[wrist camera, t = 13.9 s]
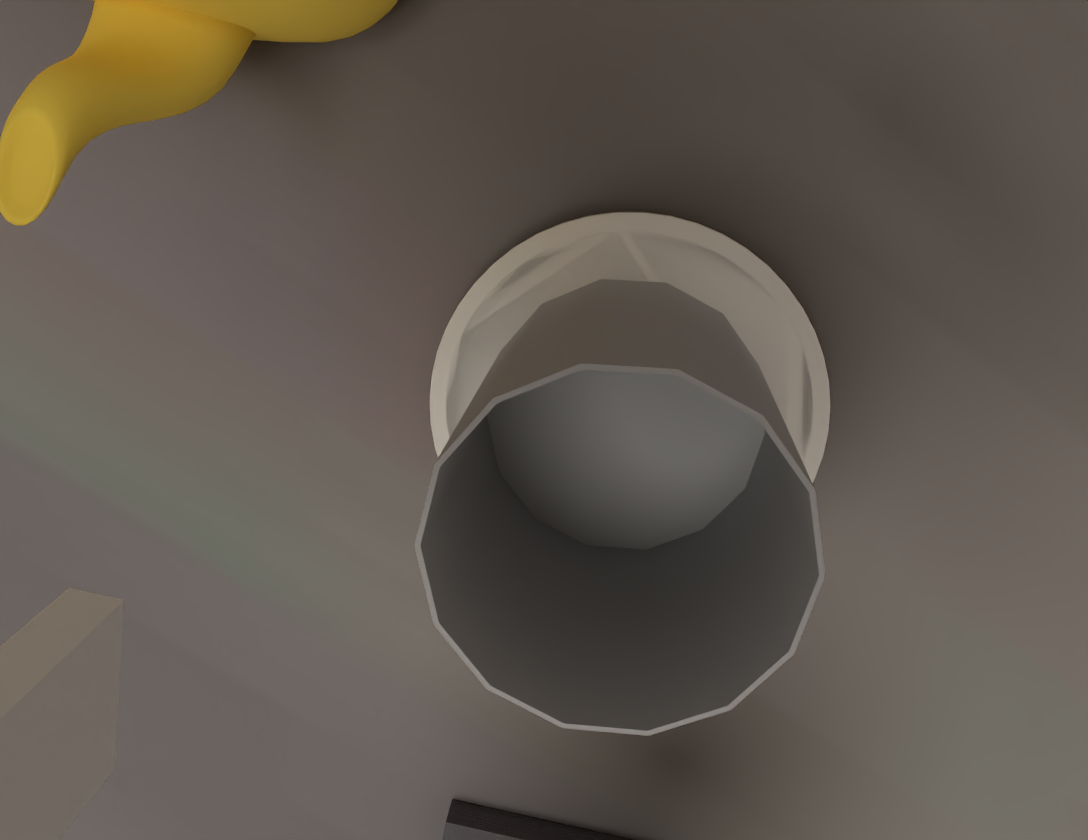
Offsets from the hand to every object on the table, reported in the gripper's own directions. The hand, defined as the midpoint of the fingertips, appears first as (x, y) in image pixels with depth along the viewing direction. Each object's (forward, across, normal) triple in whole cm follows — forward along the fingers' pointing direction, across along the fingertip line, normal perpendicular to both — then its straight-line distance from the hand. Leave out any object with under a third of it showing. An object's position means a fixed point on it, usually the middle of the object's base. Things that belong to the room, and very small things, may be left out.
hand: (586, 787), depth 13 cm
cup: (+18, 0, 0) cm, 18 cm away
